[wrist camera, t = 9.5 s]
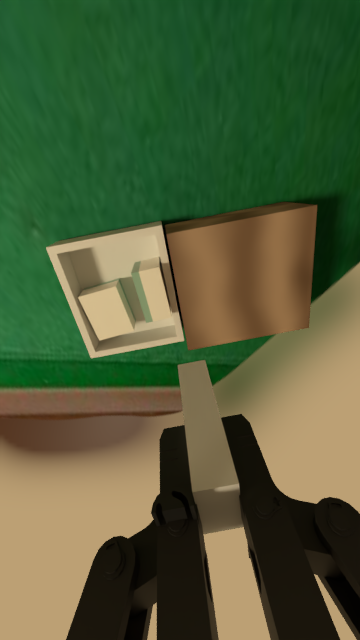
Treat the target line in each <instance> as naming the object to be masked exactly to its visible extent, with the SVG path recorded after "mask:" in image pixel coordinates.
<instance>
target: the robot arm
mask: <svg viewBox="0 0 360 640" xmlns="http://www.w3.org/2000/svg"><path fill="white" fill-rule="evenodd" d="M178 372H179V380H180V389H181V398H182V407H183V415H184V424H185V425H183V426H177V427H172V428H167V429H164V430H163V433H162V435H161V438H160V494H159V495H158V496H157V497H156V500H155V501H154V503H153V507H152V512H151V514H152V516H153V518H154V520H153V521H152V522H151V523H150V525H148V526H147V527H146V528H145V529H143V530H142V531H140V532H138V533H137V534H135V535H133V536H132V537H130V538H128V539H127V538H125V537H123V536H117V537H113V538H111V539H109V540H108V541H106V542H105V543H104V544H103V545H102V546H101V548H100V549H99V550H98V552H97V554H96V556H95V558H94V561H93V563H92V566H91V569H90V572H89V575H88V578H87V581H86V583H85V587H84V589H83V592H82V595H81V598H80V601H79V604H78V607H77V610H76V612H75V615H74V618H73V621H72V624H71V627H70V630H69V633H68V636H67V639H66V640H147V636H148V630H149V625H150V619H151V613H152V607H153V604H155V603H156V602H157V640H218V632H217V625H216V618H215V611H214V603H213V596H212V589H211V582H210V574H209V567H208V559H207V554H206V550H205V543H204V536H203V534H207V533H213V532H218V531H224V530H229V529H235V528H240V527H244V529H245V534H246V538H247V542H248V552H249V558H251V562H252V566H253V570H254V574H255V578H256V582H257V586H258V590H259V594H260V598H261V602H262V606H263V610H264V614H265V618H266V622H267V626H268V630H269V634H270V638H271V640H340V638H339V636H338V633H337V631H336V628H335V626H334V624H333V621H332V619H331V616H330V613H329V611H328V608H327V606H326V603H325V601H324V598H323V596H322V594H321V591H320V588H319V586H318V584H317V581H316V579H315V576H314V574H316V575H318V577H319V578H320V580H321V582H322V583H323V585H324V587H325V588H326V590H327V591H328V593H329V595H330V596H331V598H332V599H333V601H334V603H335V605H336V606H337V608H338V609H339V611H340V613H341V614H342V616H343V617H344V619H345V621H346V622H347V624H348V626H349V627H350V629H351V631H352V632H353V634H354V636H355V637H356V639H357V640H360V514H359V513H358V511H356V510H355V509H354V508H353V507H352V506H351V505H350V504H348V503H346V502H344V501H343V500H340V499H337V498H332V497H329V498H324V499H322V500H321V501H319V502H318V503H317V504H314V503H309V502H303V501H298V500H295V499H292V498H289V497H288V496H286V495H284V494H283V493H282V492H281V491H280V490H279V489H278V488H277V487H276V486H275V484H274V482H273V480H272V478H271V476H270V473H269V471H268V468H267V466H266V463H265V460H264V458H263V456H262V453H261V450H260V448H259V445H258V443H257V440H256V438H255V436H254V433H253V430H252V427H251V425H250V423H249V422H248V421H247V419H246V418H245V417H244V416H242V414H239V415H233V416H228V417H223V418H221V417H220V413H219V409H218V406H217V403H216V398H215V395H214V391H213V388H212V384H211V380H210V377H209V373H208V369H207V366H206V362H205V360H202V361H197V362H191V363H186V364H181V365H178Z"/></svg>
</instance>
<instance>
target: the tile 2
mask: <svg viewBox="0 0 360 640" xmlns="http://www.w3.org/2000/svg"><path fill="white" fill-rule="evenodd" d="M131 275H132V278H133V281H134V285H135V288H136V291H137V294H138V298H139V301H140V304H141V308H142V311H143V314H144V317H145V321H146V323H149V322H153V321H158V320H162V319H167V318H171V317H172V315H171V306H170V301H169V296H168V292H167V287H166V283H165V279H164V275H163V271H162V267H161V263H160V259H159V257H156V258H152V259H148V260H143V261H139V262H135V263H134V266H133V269H132V272H131Z"/></svg>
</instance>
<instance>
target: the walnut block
mask: <svg viewBox="0 0 360 640" xmlns="http://www.w3.org/2000/svg"><path fill="white" fill-rule="evenodd" d="M316 217H317V205H312V204H301V203H291V202H280V203H275V204H270V205H265V206H260V207H255V208H250V209H244V210H239V211H234V212H229V213H224V214H219V215H213V216H208V217H203V218H198V219H193V220H188V221H182V222H177V223H172V224H167V225H165V229H166V235H167V240H168V245H169V251H170V256H171V261H172V266H173V272H174V277H175V282H176V287H177V293H178V298H179V303H180V308H181V314H182V319H183V324H184V330H185V335H186V340H187V345H188V350H193V349H198V348H203V347H209V346H214V345H219V344H224V343H230V342H235V341H240V340H246V339H251V338H256V337H262V336H267V335H272V334H278V333H283V332H288V331H293V330H299V329H304V328H309V318H310V303H311V289H312V274H313V260H314V246H315V231H316Z"/></svg>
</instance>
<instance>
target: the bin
mask: <svg viewBox="0 0 360 640" xmlns="http://www.w3.org/2000/svg"><path fill="white" fill-rule="evenodd" d="M46 249H47V252H48V254H49V256H50V259H51V261H52V264H53V266H54V269H55V271H56V274H57V276H58V278H59V281H60V283H61V286H62V288H63V291H64V293H65V296H66V298H67V300H68V303H69V305H70V308H71V310H72V313H73V315H74V318H75V320H76V322H77V325H78V327H79V330H80V332H81V335H82V337H83V340H84V342H85V344H86V347H87V349H88V352H89V354H90V357H91V358H95V357H101V356H106V355H111V354H117V353H122V352H127V351H133V350H138V349H143V348H148V347H154V346H159V345H164V344H170V343H175V342H180V341H184V337H183V331H182V325H181V320H180V315H179V310H178V305H177V299H176V294H175V289H174V284H173V279H172V274H171V268H170V263H169V258H168V253H167V248H166V243H165V238H164V232H163V227H162V222H161V221H158V222H153V223H148V224H143V225H138V226H132V227H127V228H122V229H117V230H112V231H107V232H102V233H96V234H91V235H86V236H81V237H76V238H71V239H66V240H60V241H58V242H56V243H54V244H52V245H50V246H48V247H46ZM156 257H159V259H160V263H161V267H162V271H163V275H164V279H165V283H166V287H167V292H168V296H169V301H170V306H171V315H172V317H171V318H167V319H162V320H158V321H153V322H149V323H146V321H145V317H144V314H143V311H142V308H141V304H140V301H139V298H138V294H137V291H136V288H135V285H134V281H133V278H132V275H131V272H132V269H133V266H134V263H135V262H139V261H143V260H148V259H152V258H156ZM118 278H119V279H120V281H121V284H122V286H123V289H124V291H125V294H126V296H127V299H128V301H129V304H130V306H131V309H132V311H133V314H134V316H135V319H136V323H135V329H134V331H132V332H129V333H125V334H121V335H118V336H114V337H111V338H107V339H104V340H100V341H99V339H98V337H97V335H96V333H95V331H94V329H93V327H92V325H91V323H90V321H89V319H88V317H87V315H86V313H85V311H84V309H83V307H82V305H81V303H80V301H79V299H78V296H79V295H80V294H81V292H82V291H83V290H84V288H87V287H91V286H94V285H98V284H101V283H104V282H108V281H111V280H115V279H118Z"/></svg>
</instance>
